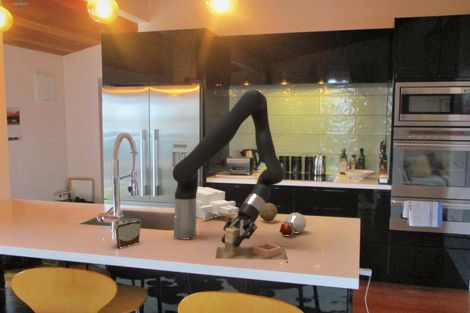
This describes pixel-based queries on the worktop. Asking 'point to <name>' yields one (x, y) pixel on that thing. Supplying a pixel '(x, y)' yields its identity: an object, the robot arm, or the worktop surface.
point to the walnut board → (247, 254)
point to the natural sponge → (268, 212)
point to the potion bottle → (293, 224)
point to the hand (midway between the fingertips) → (229, 243)
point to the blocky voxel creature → (213, 203)
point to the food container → (127, 231)
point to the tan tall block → (231, 241)
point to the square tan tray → (267, 250)
